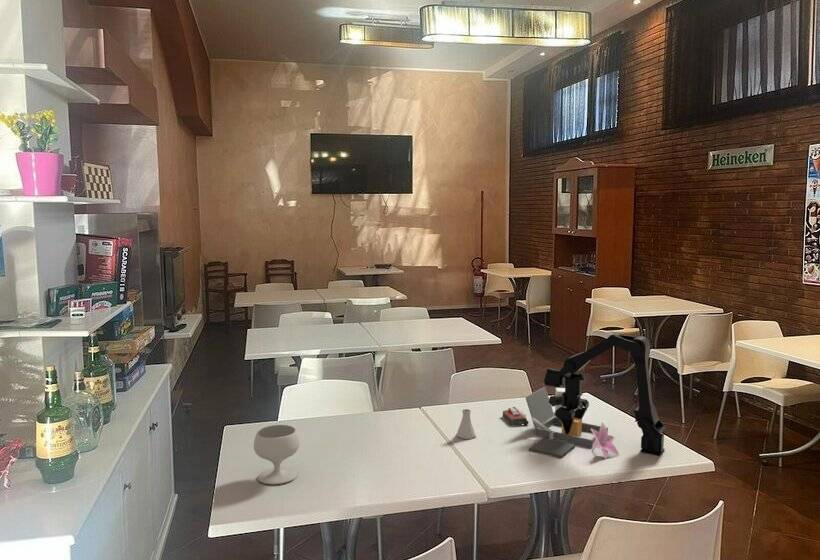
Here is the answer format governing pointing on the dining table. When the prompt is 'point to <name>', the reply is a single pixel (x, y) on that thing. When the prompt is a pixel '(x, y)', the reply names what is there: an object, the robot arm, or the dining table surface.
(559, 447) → the rubber mat
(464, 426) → the flask
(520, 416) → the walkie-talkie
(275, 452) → the chalice
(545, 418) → the case
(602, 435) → the lily
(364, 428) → the dining table surface
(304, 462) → the dining table surface
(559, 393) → the small box
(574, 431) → the block
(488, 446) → the dining table surface
